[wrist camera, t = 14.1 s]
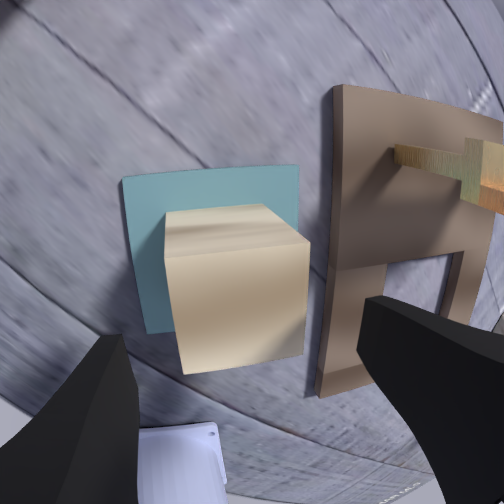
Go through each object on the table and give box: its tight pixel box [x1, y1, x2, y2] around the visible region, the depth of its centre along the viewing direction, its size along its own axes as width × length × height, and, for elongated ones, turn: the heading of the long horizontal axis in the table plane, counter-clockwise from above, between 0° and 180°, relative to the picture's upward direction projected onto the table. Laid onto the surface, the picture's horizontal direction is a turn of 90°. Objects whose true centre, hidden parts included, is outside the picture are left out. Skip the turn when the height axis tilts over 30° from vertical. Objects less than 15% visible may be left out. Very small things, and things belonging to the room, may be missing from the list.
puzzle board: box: [314, 84, 503, 399], centre depth 19 cm, size 19×14×1 cm
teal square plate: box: [122, 165, 299, 334], centre depth 15 cm, size 8×8×1 cm
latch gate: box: [394, 137, 504, 215], centre depth 12 cm, size 2×8×8 cm, turn 91°
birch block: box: [164, 204, 310, 375], centre depth 13 cm, size 4×4×6 cm
